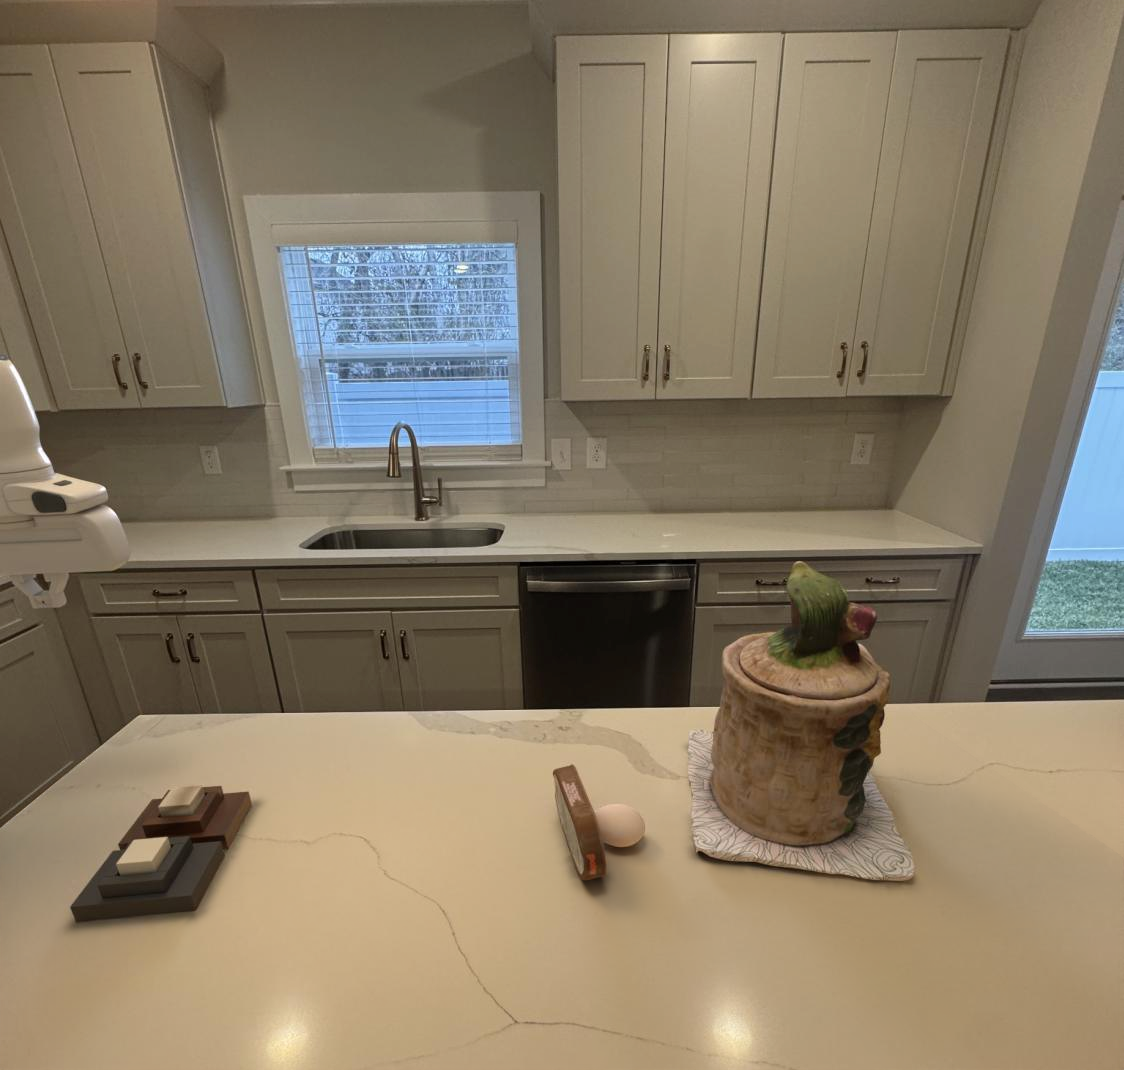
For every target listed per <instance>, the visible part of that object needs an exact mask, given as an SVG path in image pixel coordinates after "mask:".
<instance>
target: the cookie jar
mask: <svg viewBox="0 0 1124 1070" xmlns="http://www.w3.org/2000/svg"><path fill="white" fill-rule="evenodd" d="M785 591H786V593H787V594H788V596H789V599H790V618H791V619H790V620H791V624H790V625H788V626H786V627H784V628H782V629H780V630H778V631H768V632H762V633H752V634H748V635H743V636H742V637H739V638H738V639H737V640H735V641H733V642H732V643H730V644H729V645H726V646H725V648H724V649H723V650H722V655H721V656H722V657H721V666H722V667H721V669H722V674H723V677H724V678H725V679H724V682H723V686H722V692H721V695H720V703H719V708H718V709H717V712H716V715H715V718H714V723H713V730H712V731H707V730H705V729H694V730H693V729H692V730H690V732H689V737H688V746H687V752H686V753H687V755H688V758H689V759H688V762H687V777H688V778H689V782H690V789H691V793H692V799H691V801H692V804H691V811H690V812H691V813H690V816H691V820H692V824H691V826H690V827H691V833H692V838H693V843H694V846H695V852H696V853H698V852H702V853H704V854H706V855H707V856H709V857H710V858H714V859H719V860H723V861H727V862H749V863H750V862H751V863H752V862H753V863H754V862H755V863H759V864H763V865H768V866H770V867H771V866H772V867H781V868H787V869H796V870H804V871H805V870H806V871H811V872H812V871H813V872H815V873H816V872H817V873H822V874H823V873H824V874H829V875H845V876H850V877H855V878H859V879H866V880H871V881H872V880H873V881H891V882H893V881H894V882H895V881H896V882H903V881H909V880H910V879H912V878H913V877H914V873H915V871H916V866H915V859H914V856H913V854H912V853H911V851H910V849H909V848H908V847H907V845H906V843H904V839H903V837H902V836H901V834H900V833H899V832H898V829H897V827H896V825H895V819H894V816H893V813H892V809H891V808H890V807H889V806H888V805H887V802H886V800H885V798H884V796H883V794H882V793H881V792H880V790H879V789H878V785H877V783H876V780H875V778H874V776H873V775H872V773H871V772H870V770H871V769H872V768H873V766H874V762H875V758H877V757H878V756H880V755H881V753H882V748H881V743H882V740H881V730H880V729H881V728H882V726H883V724H884V721H885V715H886V714H885V713H886V712H885V707H886V705H887V704H888V702H889V700H890V698H891V694H890V686H891V682H890V681H891V680H890V679H891V675H890V673H889V672H888V671H885V670H884V669H883V667H881V666H880V664H879V663H877V662H876V660H875V658H874V657H873V655H872V654H871V652H870V651H869V650H868V648H866V647H865V646H864V645H863V644H862V643H858V642H857V641H865V640H866V641H867V640H868V639H869V638H870V637H871V634H872V630H873V629H874V627H875V625H876V621H877V620H878V615H877V613H876V611H875V610H874V609H873V608H871V606H868V605H863V604H858V603H855V602H852V601H851V602H850V600H849V593H848V592H847V590H846V589H845V587H844V586H843V584H842V583H841V582H840V581H839V580H838V579H836V578H832V577H830V576H827V575H825V574H822V573H821V572H819V571H817V570H816V569H814V568H812V567H810V566H809V565H808V564H807V563H805V562H804V561H800V560H799V561H796V562H794V563H793V565H792V567H791V570H790V573H789V576H788V578H787V583H786V586H785Z"/></svg>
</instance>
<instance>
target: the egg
mask: <svg viewBox="0 0 1124 1070" xmlns="http://www.w3.org/2000/svg"><path fill="white" fill-rule="evenodd" d="M594 813H595V816H596V818H597V822H598V825H599V829H600V832H601V836H602V841H603V843H604V844H607V845H608V846H609V845H610V846H612V847H618V848H626V847H631V846H633V845H634V844H636V843H638V842H639V841H640V840H641V839H642V838H643V837H644V835H645V832H646V823H645V820H644V818H643V816H642V815H641V813H639V812H638V810H636V809H635V808H633V806H632V807H631V806H629V805H627V804H623V803H611V804H606V805H604V806H602V807H598V808H597V809H596V810H594Z"/></svg>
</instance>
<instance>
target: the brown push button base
mask: <svg viewBox="0 0 1124 1070" xmlns="http://www.w3.org/2000/svg"><path fill="white" fill-rule="evenodd" d="M202 787H203V790H204V794H205V798H204V799H203V801H202V802H201V804H200V805H199V807H198V809H197V810H196V812H195V813H194V815H183V816H171V817H161V814H160V811H159V808H158V806H159V805H160V804H161V802H162V801H163V800H164V798H165V797H166V796H167V794H168V793H169V792H170V790H171V789H168V790H167V791H166V792H165V794H164V795H163V796H162V797H161V798H152V799H151V800H150V802H149V803H148V804H147V805H146V807H145V808H144V809H143V811H142V812H141V813H140V814H139V816H138V817H137V819H136V820H134V823H133V824H132V825H131V826H130V828H129V829H128V830H127V832H126V833H125V834H124V836H123V837H122V838H121V839H120V840H119V842H118V843H117V846H118V848H119V849H118V850H124V849H125V848H126V846H127V845H128V843H129V842H130V841H133V840H138V839H150V838H161V837H168V838H170V837H182V836H190V838H191V841H192V844H195V843H206V842H217V841H221V843H222V846H223V850H229V849H230V848H231V845H232V843H233V842H234V840H235V838H236V836H237V834H238V832H239V830H240V828H241V826H242V825H243V822H244V821H245V819H246V817H247V815H248V814H249V811H250V809H251V808H252V806H253V803H252V798H251V795H250V791H237V792H236V791H235V792H224V790H223V787H222V785H211V786H202Z"/></svg>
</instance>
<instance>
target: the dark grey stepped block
mask: <svg viewBox="0 0 1124 1070" xmlns="http://www.w3.org/2000/svg"><path fill="white" fill-rule="evenodd" d="M168 840H169V843H170V846H171V850H170V852H169V853H168V855H167V856H166V858H165V859H164V861H163V862H162V864H161V866H160V867H159V869H158V870H157V872H155V873H144V874H133V875H122V876H120V873H119V871H118V868H117V865H116V863H117V862H118V861H119V859H120V858H121V857H122V855H123V854H124V853H125V851H126V850H127V848H128V847H129V846H130V844H131V843H132V842H133V841H130V842H129V843H128V845H127V846H126V848H125V849H124V850H120V849H118V850H112V852H110V854H109V855H108V856H107V858H106V859H105V860H104V862H103V863H102V864H101V866H100V867H99V868H98V869H97V871H96V872H95V874H94V875H93V876H92V878H91V879H90V880H89V882H88V883H86V885H85V887H84V888H83V889H82V891H81V892H80V893H79V895H77V897H76V898H75V900H74V901H73V902H72V904H70V906H69V909H70V911H71V913H72V916H73V919H74V921H75V922H76V923H83V922H93V921H95V922H96V921H102V920H103V921H104V920H105V921H106V920H115V919H123V918H134V917H143V916H145V917H146V916H155V915H164V914H166V915H167V914H175V913H185V912H195V911H196V910H197V909H198V908H199V905H200V904H201V902H202V900H203V898H204V896H205V894H206V892H207V890H208V888H209V887H210V884H211V882H212V881H213V879H214V877H215V875H216V873H217V872H218V870H219V868H220V866H221V864H222V862H223V860H224V858H225V856H226V854H225V849H223V846H222V843H221V841H217V842H206V843H195V844H192V841H191V838H190V836H182V837H170V838H168Z"/></svg>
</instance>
